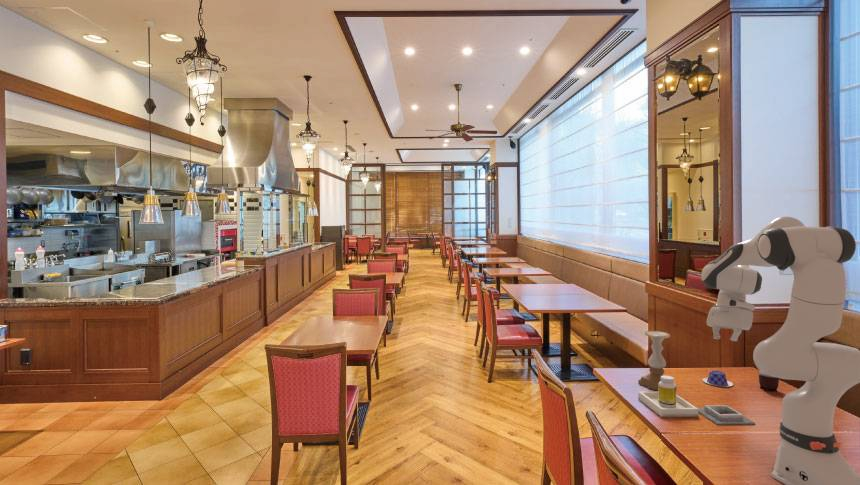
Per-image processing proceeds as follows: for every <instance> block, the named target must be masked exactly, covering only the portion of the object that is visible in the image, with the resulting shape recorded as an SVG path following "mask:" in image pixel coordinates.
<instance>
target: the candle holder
mask: <svg viewBox="0 0 860 485" xmlns="http://www.w3.org/2000/svg"><path fill="white" fill-rule="evenodd" d="M670 334H671V333H668V332H665V331H659V330H647V331H645V332H644V335H645V336H646V337H648V338H649V337H650V339H651V341H652V344H651V346H650V348H651V351H652V353H651V355H650V357H649V358H648V360H647V364H648V366H650V367H649V369H648V370H649V372H650V373H648V374H647V375H643V376H641V377H640V379H638V382H637V384H638V385H640V386H643V387H646V388H649V389H651V390H653V391H658V384H659V382H660V381H661V376H664V374H665V369H664V368H665V367H666V365H667V362H666V360H665V358H664V356H663V355H662V352H663V350H664V346H663V345H662V343H663V341H664V339H668V338H670V337H671V335H670ZM673 383H674V384H675V385H676V383H675V382H673Z"/></svg>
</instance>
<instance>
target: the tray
mask: <svg viewBox="0 0 860 485" xmlns="http://www.w3.org/2000/svg"><path fill="white" fill-rule="evenodd" d="M638 400H639V401H641V402H642V403H644V405H646V406H647V407H648V408H649V409H651V410H652V411H653V412H654V413H655V414H657V415H660V416H659V417H661V418H678V417H679V418H683V417H684V418H692V417H693V418H694V417H695V418H697V417H698V418H699V412H698V408H699V407H696V406H694V405H693V404H692V403H690V402H689V401H687V400H686V399H684V398H683V397H682V396H680V395H679V394H677V393H676V406H675V407H665V406H662V405H660V404H659V403H658V391H656V390H653V391H652V390H651V391H638Z"/></svg>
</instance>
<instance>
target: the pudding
mask: <svg viewBox="0 0 860 485" xmlns="http://www.w3.org/2000/svg"><path fill="white" fill-rule="evenodd" d="M701 381H702V382H703V383H705V384H708V385H712V386H716V387H725V388H728V387H732V386H734V383H733V382H732V381H730V380H727V375H726V373H725V372H723V371H721V370H711V371H709V374H708V377H703V378H702V380H701Z"/></svg>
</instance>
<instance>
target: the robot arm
mask: <svg viewBox="0 0 860 485" xmlns="http://www.w3.org/2000/svg"><path fill="white" fill-rule="evenodd" d="M856 245H857V244H856V240H855V237H854V236H853V234H852V233H851V232H850V231H849V230H847V229H845V228H841V227H835V226H806V225H805V224H804V223H803V222H802V221H801V220H799V219H798V218H795V217H792V216H780V217H776V218H775V219H773V220H772V221H770V222H769V223H767V224H766V225H765V226H764V227H763V228H762V229H761V230H760V231H759V232H758V233H757V234H756V235H755V236H753V237H751V238H750V239H746V240H744V241H741V242H738V243H735V244H733V245H731V246H730V247H728V248H727V249H726V250H725V251H724V252H722V253H721V254H720V255H719V256H717V258H715V259H714V260H712V261H710V262H708V263H707V264H705V265H704V267H703V268H702V270H701V274H700V275H701V276H700V279H701V282H702V283H703V284H704V285H705V287H706V288H708V289H714V290H719V292H718V295H717V301H716V303H715V304H714V305H713V306H712V307H710V310H709V311H708V314H707V318H706V322H705V323H706V325H707V326H708V327H710V328H711V327H712V328H711V329H712V332H713V337H712V338H713V339H715V340H721V334H720V331H721V329H731V330H732V331H733V333H732V334H731V335H730V338H729V341H731V342H738V340H739V339H738V338H739V336H740V335H741V334H742V330H743V331H750V329H751V328H752V327H753V326H752V325H753V320H754V311H755V308H756V306H755V305H754V304H752V303H750V302H748V301H747V296H746V295H754V294H757V293H758V292H760V291H761V289H762V282H763V277H762V275H761V274H760V273H759V271H758V270H755V269H752V268H750V266H754V267H762V268H764V267H765V268H771V267H776V268H777V269H778V270H779V271H783V272H784V271H785V270H787V269H788V268H790V270H791V272H792V274H793V282H792V283H793V284H792V288H791V295H790V300H789V301H790V303H789V306H788V307H789V308H788V312H787V316H786V319H785V321H784V323H783V324H782V326H781V327H780V328H779V329H778V330H777V331H776V332H775V333H774V334H773V335H771V336H769V337H768V338H766V339H765V340H762V341H760V342H758V343H757V345H756V346H755V347H754V349H753V354H752V355H753V356H752V358H753V362H754V365H755V366H756V368H757V369H758V370H759V372H762V373H763V374H766V375H769V376H773V377H777V378H779V379H782V380H793V381H803V382H805V383H804V384H803V385H802V386H801V387H800V388H798V389H795V390H792V391H789V392H788V393H786V394H785V396H783V398H782V409H781V410H782V412H781V413H782V414H781V417H782V418H781V421H780V423H779V436H780V437H781V438H780V442H779V444H778V447H777V450H776V457H775V462H774V463H775V464H774V466H773V470H772V471H771V477H772V478H773V479H775V480H777V481H778V482H779V483H780V482H781V483H782V484H783V485H860V475H859V473H858V471H857V470H856V468H853V467H852V466H851V465H850V463H849V462H848V461H847V459H846V458H845V457H844V456H843V455H842V454H841V452H840V449H839V448H843V446H842V445H843V443H842V442H837V439H836V438H837V437H836V436H835V434H834V418H835V410H836V407H837V404H838V403H839V401H840V399H841V397H842V396H843V395H844V394H845V393H846V392H847V391H848V390H849V389H851V388H852V387H854V386H856V385H858V384H860V350H859V349H858V348H856V347H852V346H849V345H844V344H841V343H840V344H839V343H832V342H820V341H819V340H820V339H822V338H824V337H826V336H830V335H832V334H834V333H835V332H837V331H838V330H839V328H840V327H841V325H842V320H843V313H844V307H845V302H846V301H845V300H846V291H847V290H846V289H847V286H846V285H847V284H846V283H847V280H846V271H845V268H844V266H843V264H844V263H847V262H848V261H850V260H851V259H853V256H854V255H855V252H856V249H857V248H856V247H857V246H856ZM817 341H819V342H817Z"/></svg>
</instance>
